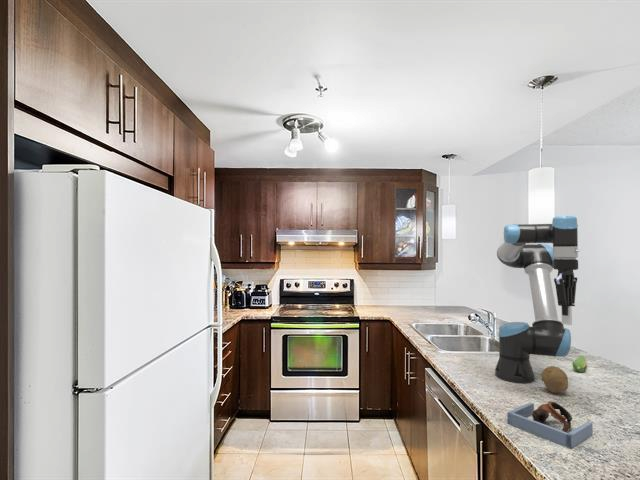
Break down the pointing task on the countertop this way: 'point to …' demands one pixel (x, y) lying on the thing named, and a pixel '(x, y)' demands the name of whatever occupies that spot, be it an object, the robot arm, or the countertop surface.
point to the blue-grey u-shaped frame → (548, 427)
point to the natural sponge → (555, 379)
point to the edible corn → (580, 364)
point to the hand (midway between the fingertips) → (566, 324)
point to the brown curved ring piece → (552, 414)
